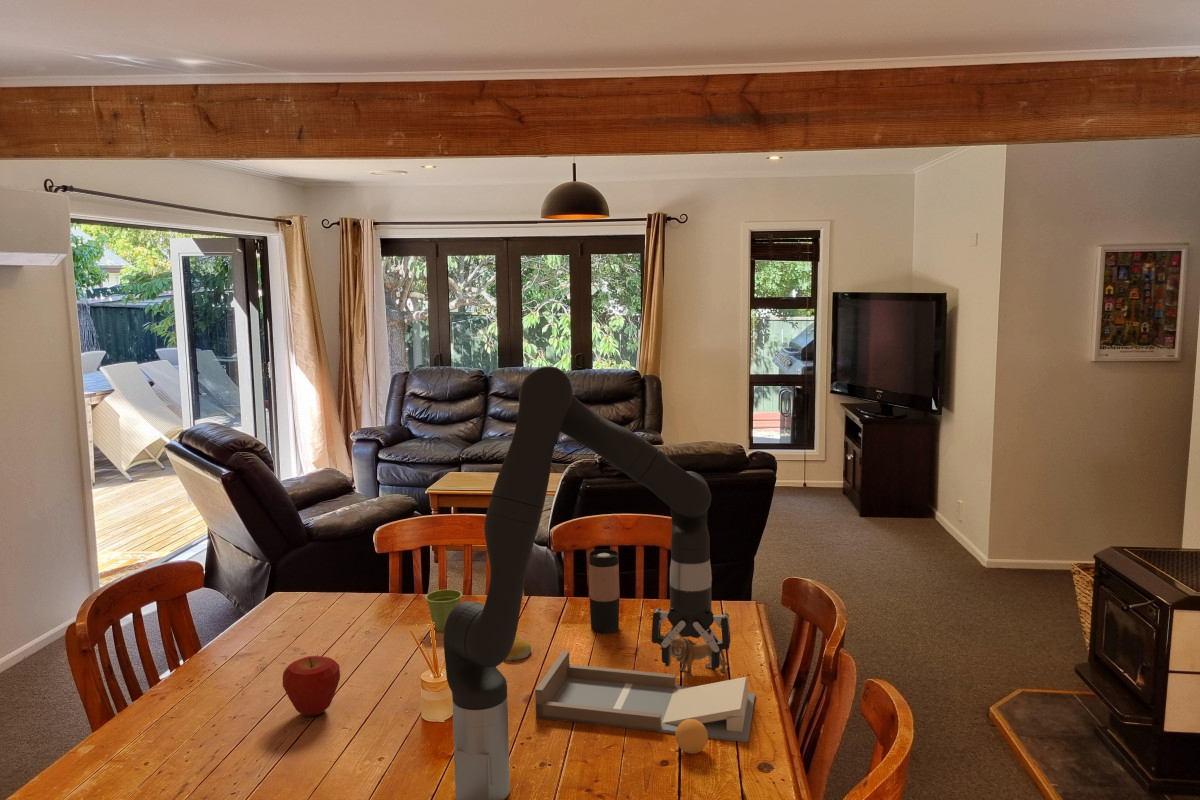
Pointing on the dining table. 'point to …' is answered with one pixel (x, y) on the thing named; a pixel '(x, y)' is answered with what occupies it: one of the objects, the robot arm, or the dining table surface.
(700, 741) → the rubber ball
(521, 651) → the bread roll
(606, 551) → the travel mug
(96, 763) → the dining table surface
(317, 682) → the apple
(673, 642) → the lion figurine
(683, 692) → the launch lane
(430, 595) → the plant pot
